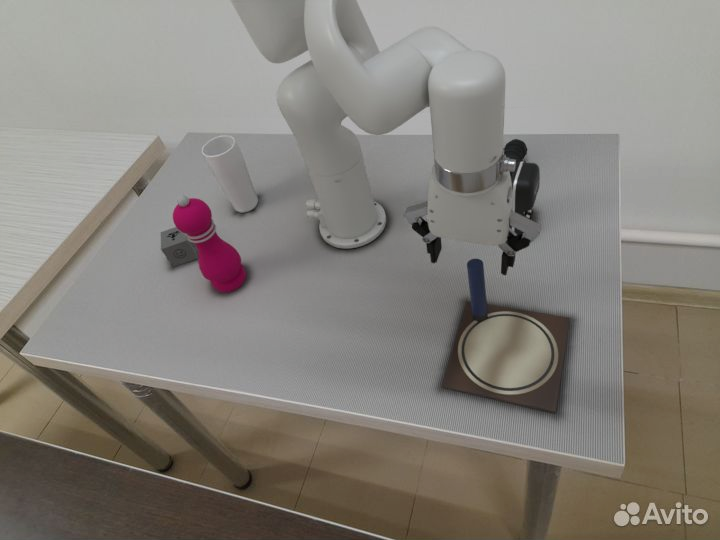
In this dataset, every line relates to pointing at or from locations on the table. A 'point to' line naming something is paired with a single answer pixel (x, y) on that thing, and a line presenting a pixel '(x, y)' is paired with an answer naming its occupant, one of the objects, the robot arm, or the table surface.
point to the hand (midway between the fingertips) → (470, 261)
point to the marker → (477, 289)
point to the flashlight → (515, 151)
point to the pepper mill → (209, 245)
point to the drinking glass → (230, 172)
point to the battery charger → (524, 189)
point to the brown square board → (509, 357)
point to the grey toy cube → (177, 247)
